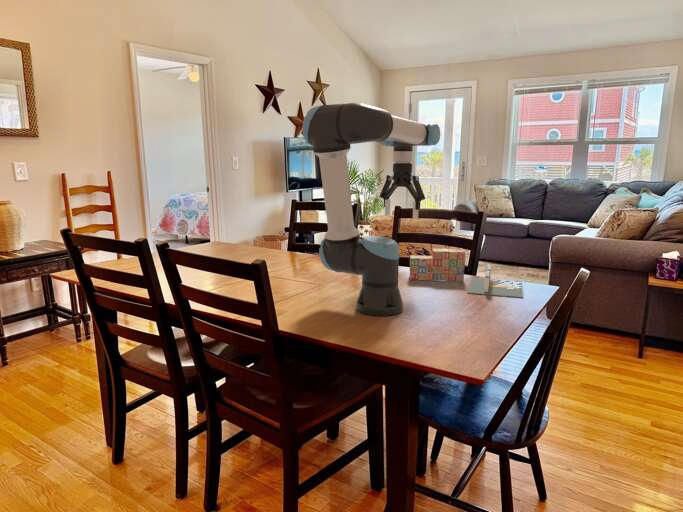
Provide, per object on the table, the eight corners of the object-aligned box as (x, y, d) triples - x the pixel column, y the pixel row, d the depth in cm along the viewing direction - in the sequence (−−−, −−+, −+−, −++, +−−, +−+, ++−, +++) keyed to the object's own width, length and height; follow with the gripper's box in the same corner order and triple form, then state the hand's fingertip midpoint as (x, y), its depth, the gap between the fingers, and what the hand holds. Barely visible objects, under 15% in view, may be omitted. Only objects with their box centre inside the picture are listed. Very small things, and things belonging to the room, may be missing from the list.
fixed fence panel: (489, 286, 183) (490, 269, 182) (485, 285, 183) (486, 268, 182) (490, 280, 191) (491, 264, 190) (486, 280, 192) (487, 263, 191)
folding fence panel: (488, 292, 172) (489, 275, 171) (483, 292, 172) (484, 275, 171) (489, 284, 182) (490, 269, 181) (484, 284, 183) (485, 268, 182)
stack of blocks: (409, 280, 192) (410, 250, 189) (409, 277, 198) (410, 248, 196) (464, 282, 190) (465, 251, 187) (461, 278, 196) (463, 248, 194)
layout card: (522, 298, 167) (523, 296, 167) (467, 293, 173) (467, 292, 173) (521, 282, 188) (521, 281, 188) (471, 278, 194) (471, 277, 194)
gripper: (435, 162, 181) (433, 218, 185) (383, 162, 197) (382, 213, 201) (424, 162, 175) (422, 220, 179) (371, 162, 192) (370, 215, 196)
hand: (401, 216), depth 190 cm, fingers open, 13 cm apart
